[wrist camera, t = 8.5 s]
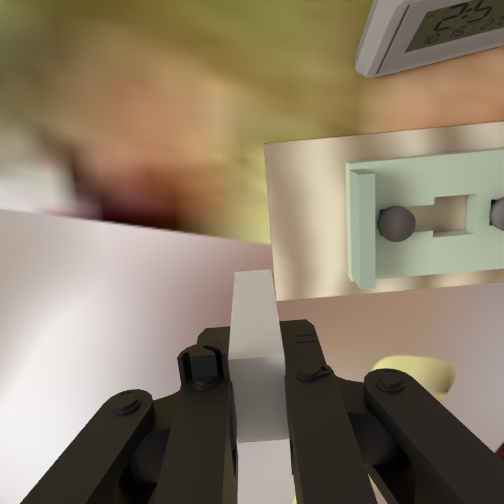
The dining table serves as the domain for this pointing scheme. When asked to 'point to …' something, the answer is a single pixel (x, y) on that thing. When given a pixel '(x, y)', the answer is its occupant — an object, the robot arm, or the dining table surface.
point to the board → (335, 212)
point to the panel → (419, 194)
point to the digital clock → (426, 33)
